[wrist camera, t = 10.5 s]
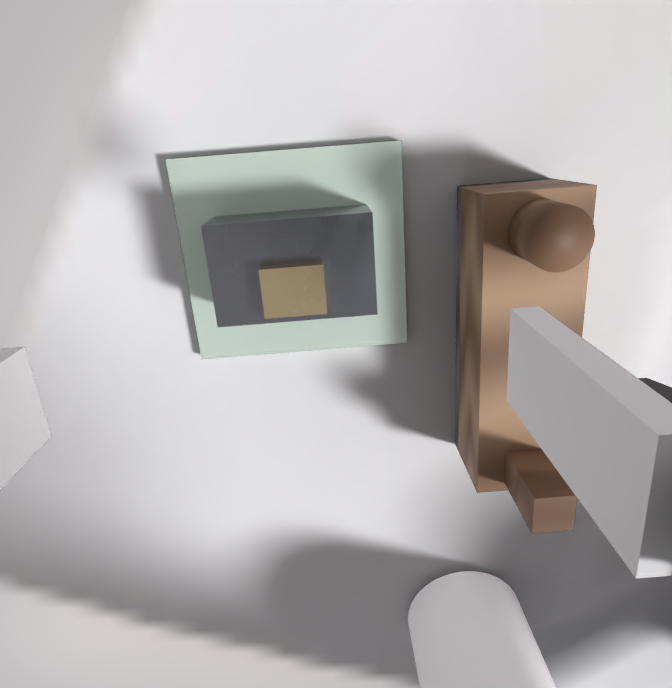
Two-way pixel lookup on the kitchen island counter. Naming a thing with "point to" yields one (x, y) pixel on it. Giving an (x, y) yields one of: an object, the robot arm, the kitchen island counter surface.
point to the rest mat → (295, 194)
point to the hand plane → (494, 325)
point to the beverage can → (474, 635)
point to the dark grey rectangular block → (291, 265)
